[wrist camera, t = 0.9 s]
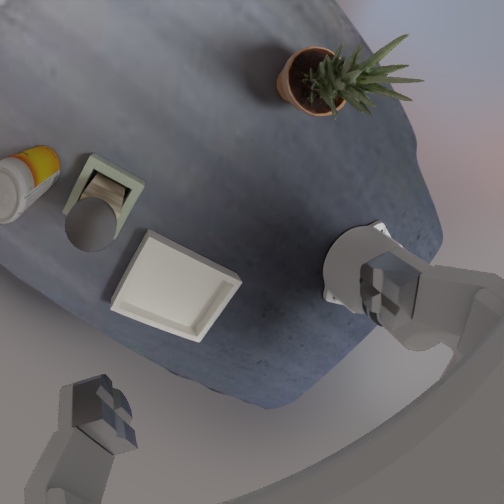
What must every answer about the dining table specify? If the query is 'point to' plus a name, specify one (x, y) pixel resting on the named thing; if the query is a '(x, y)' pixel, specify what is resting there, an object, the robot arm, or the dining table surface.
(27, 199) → the orange pill bottle
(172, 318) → the tray
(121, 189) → the wooden pepper mill
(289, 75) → the potted plant
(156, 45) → the dining table surface
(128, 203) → the socket block
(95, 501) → the robot arm
